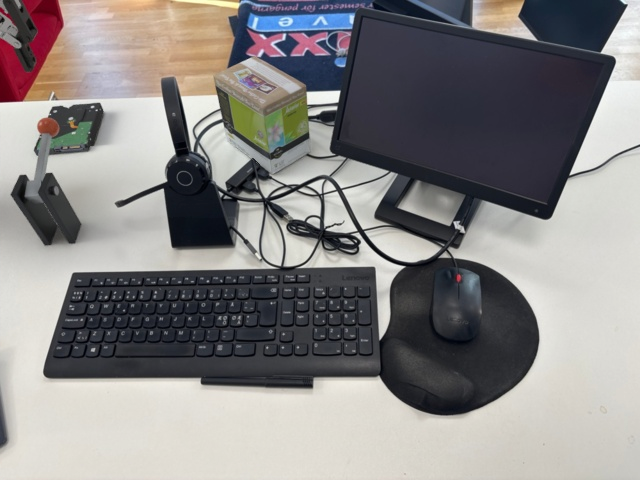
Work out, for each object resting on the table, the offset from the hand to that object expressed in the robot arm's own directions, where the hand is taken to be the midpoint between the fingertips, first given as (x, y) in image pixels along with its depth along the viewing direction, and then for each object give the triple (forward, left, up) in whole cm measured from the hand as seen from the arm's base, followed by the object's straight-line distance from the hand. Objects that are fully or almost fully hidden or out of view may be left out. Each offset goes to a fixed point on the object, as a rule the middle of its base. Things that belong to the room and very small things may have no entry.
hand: (0, 71), depth 74 cm
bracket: (+1, -9, -26) cm, 28 cm away
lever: (+1, -3, -15) cm, 15 cm away
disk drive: (-5, +20, -26) cm, 33 cm away
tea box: (+35, +12, -26) cm, 45 cm away
